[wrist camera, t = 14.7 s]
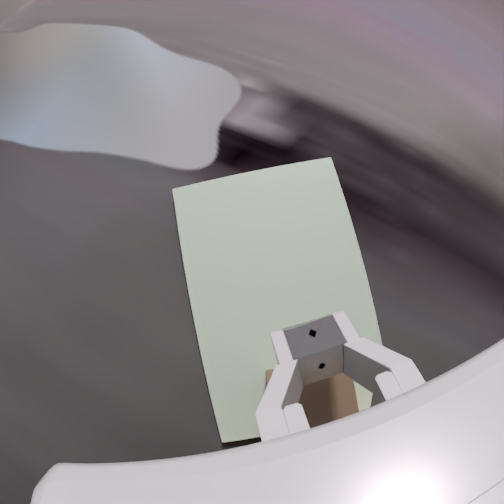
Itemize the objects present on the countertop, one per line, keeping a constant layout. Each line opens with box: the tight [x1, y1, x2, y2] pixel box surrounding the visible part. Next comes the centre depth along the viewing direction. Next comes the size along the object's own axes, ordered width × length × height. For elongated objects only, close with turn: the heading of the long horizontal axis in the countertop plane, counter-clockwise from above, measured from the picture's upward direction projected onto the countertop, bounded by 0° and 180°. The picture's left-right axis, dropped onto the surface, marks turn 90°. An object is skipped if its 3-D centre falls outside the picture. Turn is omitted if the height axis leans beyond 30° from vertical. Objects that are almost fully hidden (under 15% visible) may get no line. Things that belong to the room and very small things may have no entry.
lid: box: [172, 157, 382, 443], centre depth 18 cm, size 12×18×7 cm, turn 12°
